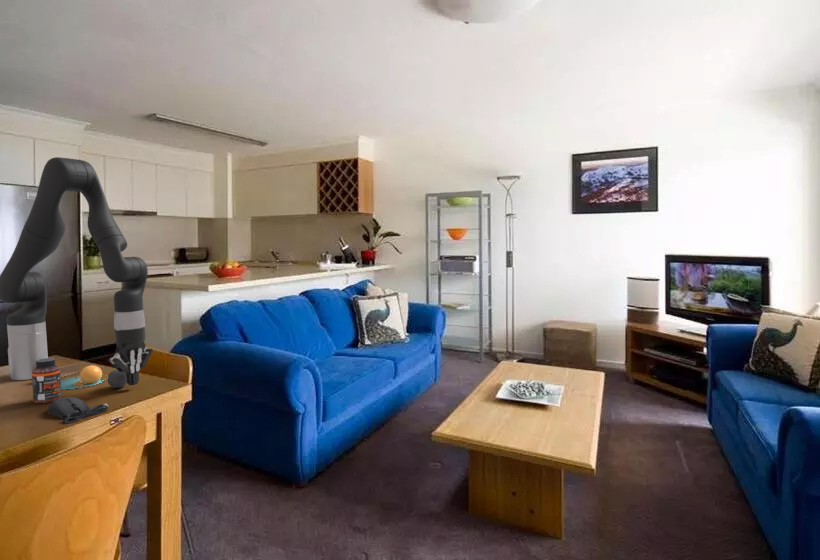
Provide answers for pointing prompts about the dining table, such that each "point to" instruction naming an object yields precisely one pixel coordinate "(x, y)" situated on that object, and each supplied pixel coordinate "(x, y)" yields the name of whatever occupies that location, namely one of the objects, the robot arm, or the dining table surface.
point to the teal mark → (70, 383)
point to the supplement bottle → (46, 381)
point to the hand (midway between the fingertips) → (132, 384)
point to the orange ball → (91, 374)
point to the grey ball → (117, 379)
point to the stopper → (69, 369)
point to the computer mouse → (74, 409)
